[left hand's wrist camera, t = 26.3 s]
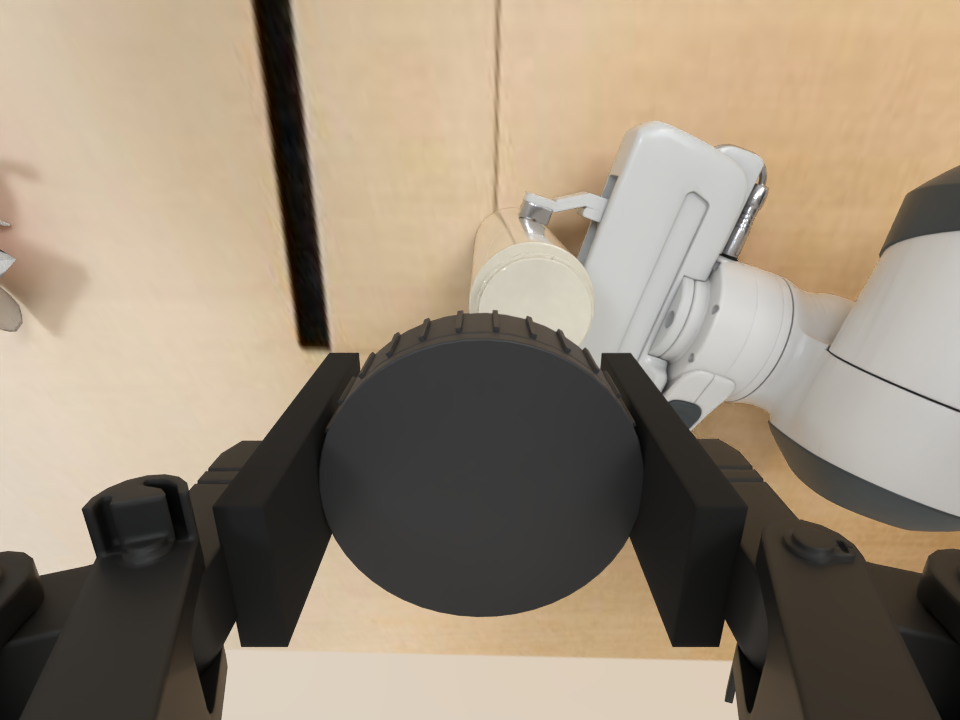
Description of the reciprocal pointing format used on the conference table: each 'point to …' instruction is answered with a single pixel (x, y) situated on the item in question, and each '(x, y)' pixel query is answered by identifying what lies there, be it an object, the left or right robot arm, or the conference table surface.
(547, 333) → the lid
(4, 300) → the fish
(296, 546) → the left robot arm
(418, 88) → the conference table surface
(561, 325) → the jar
